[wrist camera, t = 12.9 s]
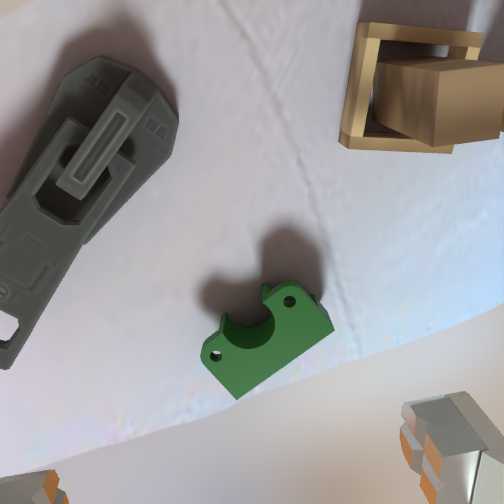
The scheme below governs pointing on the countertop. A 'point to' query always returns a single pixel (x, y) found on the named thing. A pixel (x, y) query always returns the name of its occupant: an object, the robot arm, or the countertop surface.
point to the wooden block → (440, 99)
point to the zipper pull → (77, 181)
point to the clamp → (266, 339)
